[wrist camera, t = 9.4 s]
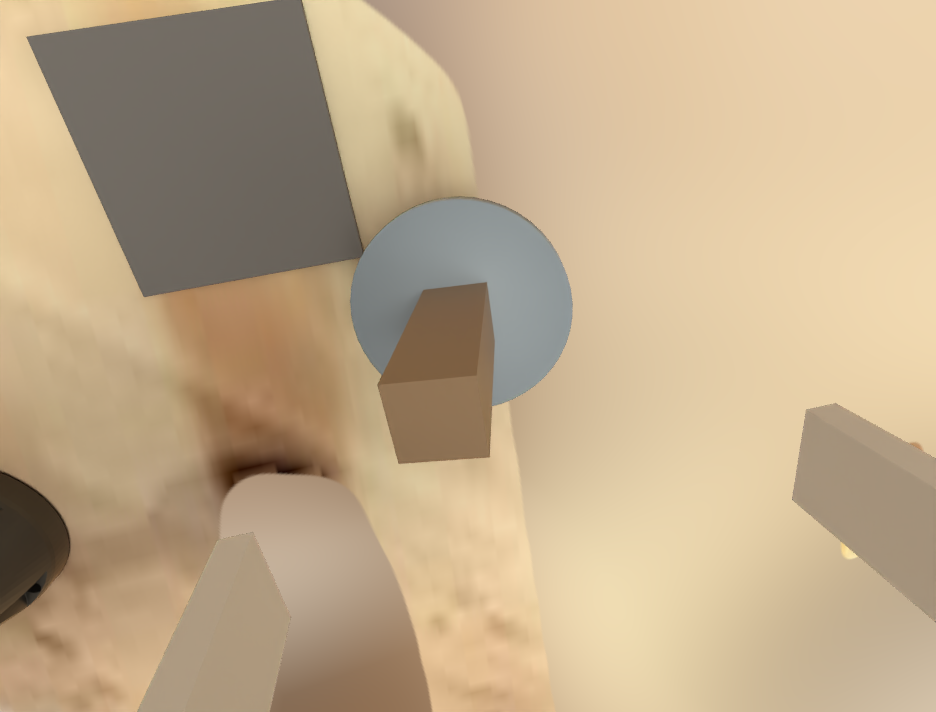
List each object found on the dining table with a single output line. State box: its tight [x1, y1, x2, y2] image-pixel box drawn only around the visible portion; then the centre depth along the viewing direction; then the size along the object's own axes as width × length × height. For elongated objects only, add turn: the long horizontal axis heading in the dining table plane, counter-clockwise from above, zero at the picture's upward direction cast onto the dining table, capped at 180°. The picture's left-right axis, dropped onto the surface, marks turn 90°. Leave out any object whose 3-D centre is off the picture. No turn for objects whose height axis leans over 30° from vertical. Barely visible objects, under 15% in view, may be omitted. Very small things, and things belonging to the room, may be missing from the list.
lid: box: [350, 197, 572, 464], centre depth 21 cm, size 12×12×11 cm
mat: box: [27, 0, 363, 297], centre depth 31 cm, size 16×16×1 cm
